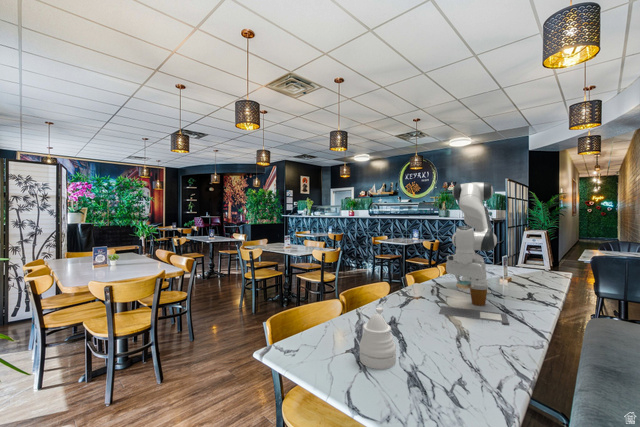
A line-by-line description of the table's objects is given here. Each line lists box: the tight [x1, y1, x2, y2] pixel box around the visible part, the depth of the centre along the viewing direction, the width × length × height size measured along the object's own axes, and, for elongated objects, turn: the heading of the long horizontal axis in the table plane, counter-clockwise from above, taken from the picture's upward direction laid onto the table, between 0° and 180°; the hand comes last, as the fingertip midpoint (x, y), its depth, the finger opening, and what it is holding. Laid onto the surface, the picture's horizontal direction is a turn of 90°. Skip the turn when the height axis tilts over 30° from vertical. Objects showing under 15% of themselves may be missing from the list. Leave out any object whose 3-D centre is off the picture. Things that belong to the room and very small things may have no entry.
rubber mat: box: [438, 305, 510, 326], centre depth 150 cm, size 14×30×1 cm, turn 63°
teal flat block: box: [456, 281, 473, 289], centre depth 151 cm, size 7×5×2 cm
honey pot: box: [359, 306, 397, 370], centre depth 108 cm, size 13×13×18 cm
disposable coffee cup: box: [469, 282, 489, 307], centre depth 165 cm, size 10×10×12 cm
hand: (465, 285), depth 151 cm, fingers closed on teal flat block, 5 cm apart
